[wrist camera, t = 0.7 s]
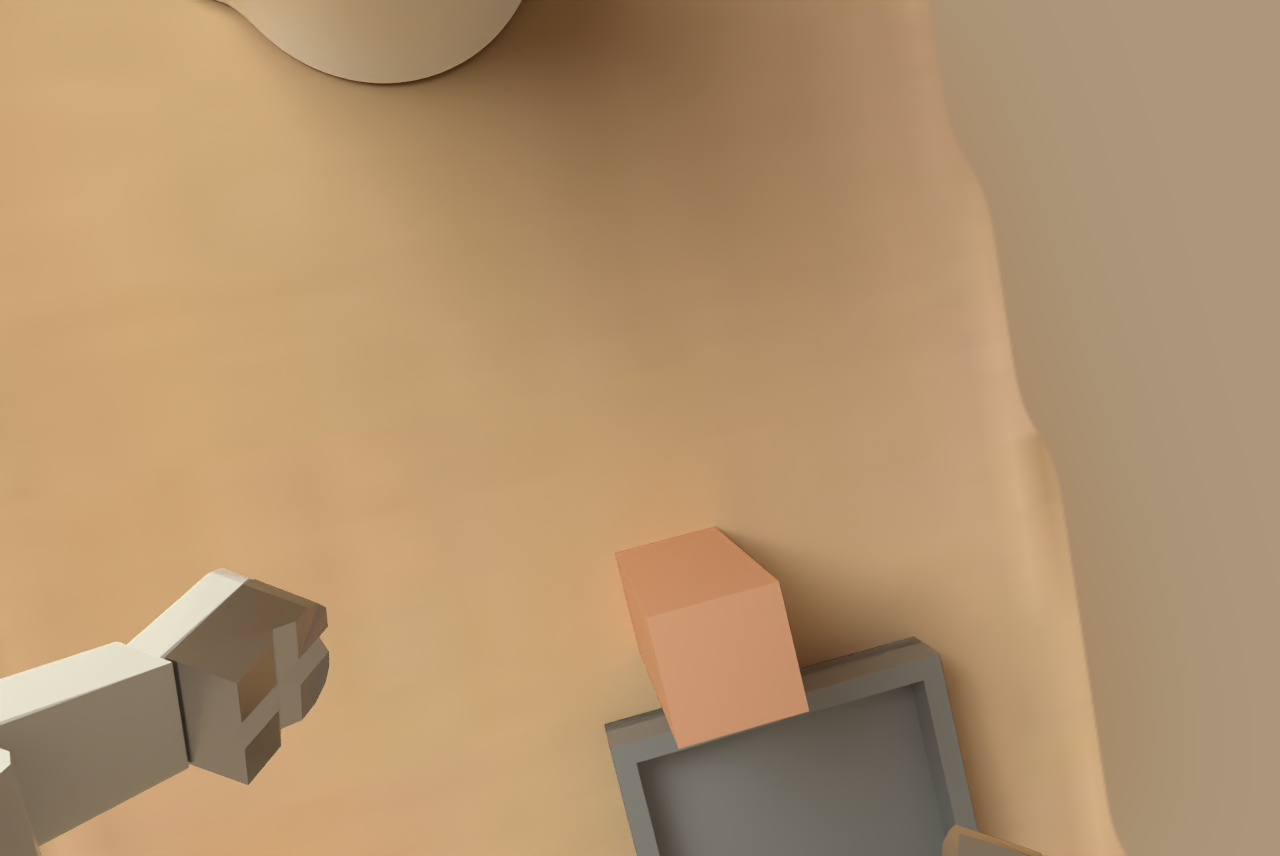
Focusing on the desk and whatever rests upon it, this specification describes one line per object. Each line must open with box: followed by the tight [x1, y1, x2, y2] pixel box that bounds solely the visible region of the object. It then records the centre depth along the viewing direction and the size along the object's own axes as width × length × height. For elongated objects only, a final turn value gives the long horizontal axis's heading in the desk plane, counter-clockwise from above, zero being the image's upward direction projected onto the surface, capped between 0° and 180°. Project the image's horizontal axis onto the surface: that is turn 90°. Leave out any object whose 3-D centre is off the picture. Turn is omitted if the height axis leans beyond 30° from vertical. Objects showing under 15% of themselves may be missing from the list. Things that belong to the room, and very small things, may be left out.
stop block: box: [615, 527, 809, 749], centre depth 41 cm, size 5×5×12 cm
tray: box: [605, 637, 978, 856], centre depth 47 cm, size 13×16×3 cm
